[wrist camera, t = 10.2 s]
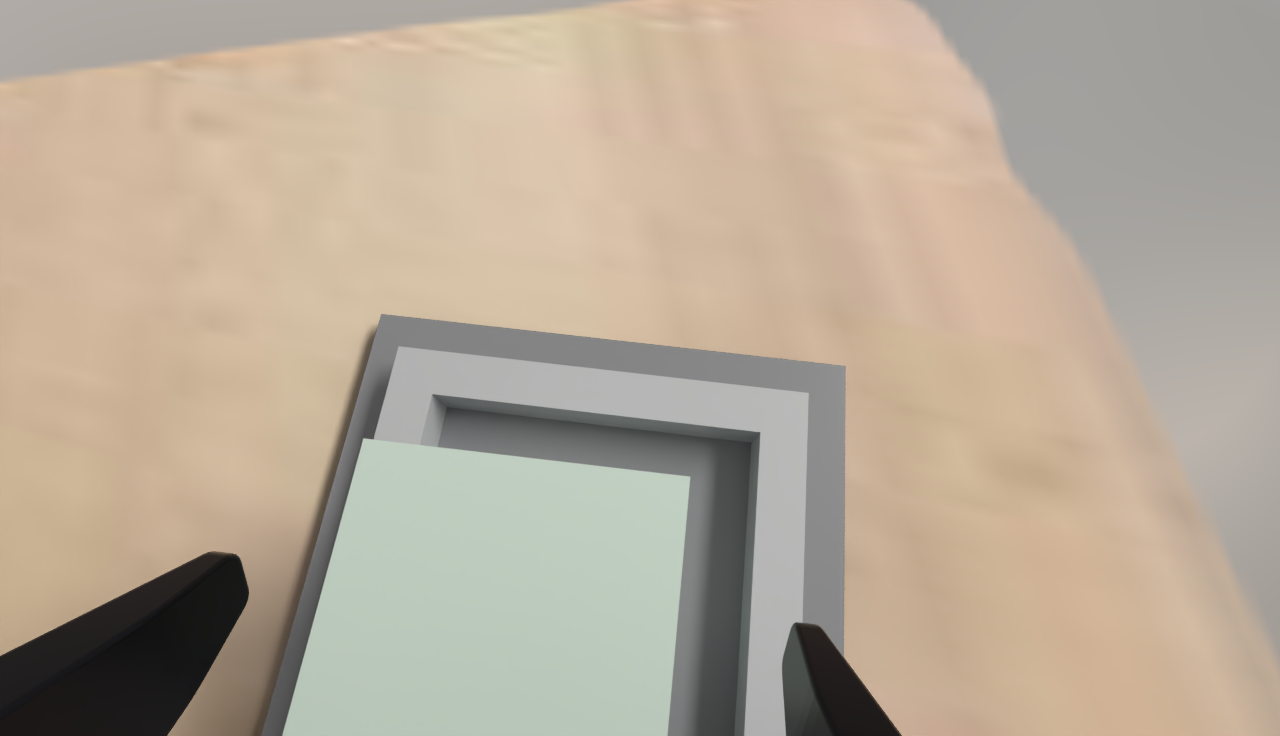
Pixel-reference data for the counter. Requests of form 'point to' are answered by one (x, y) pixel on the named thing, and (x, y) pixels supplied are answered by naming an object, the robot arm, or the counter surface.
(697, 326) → the counter surface
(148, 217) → the counter surface
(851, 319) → the counter surface
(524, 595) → the rectangular block
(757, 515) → the charging dock
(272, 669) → the counter surface
